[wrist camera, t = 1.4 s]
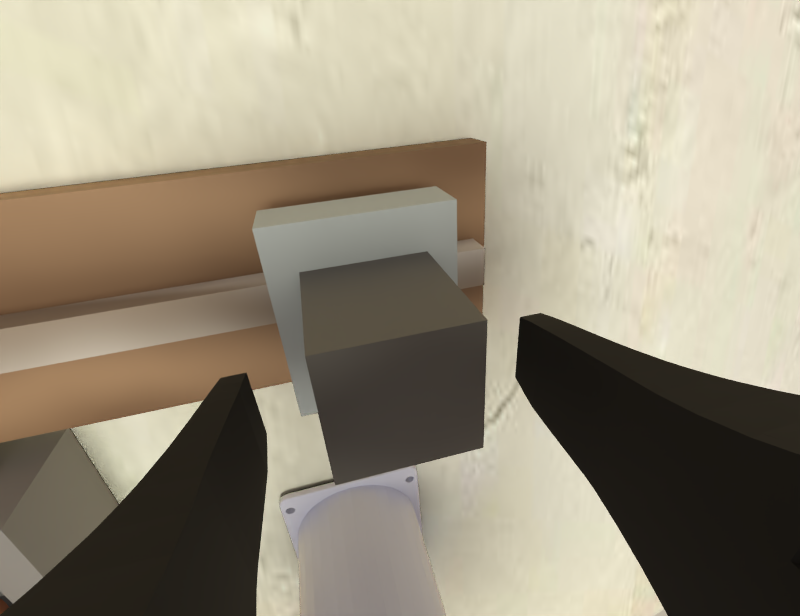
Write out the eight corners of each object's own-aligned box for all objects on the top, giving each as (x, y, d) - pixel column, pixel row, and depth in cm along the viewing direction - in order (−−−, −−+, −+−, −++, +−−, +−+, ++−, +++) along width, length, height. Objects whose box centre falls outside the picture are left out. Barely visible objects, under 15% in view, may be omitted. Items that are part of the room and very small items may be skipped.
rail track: (469, 326, 21) (492, 355, 19) (-107, 442, 17) (-170, 499, 14) (470, 138, 17) (500, 145, 14) (-309, 229, 12) (-448, 262, 10)
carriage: (441, 352, 17) (514, 475, 12) (299, 382, 16) (306, 532, 11) (436, 186, 14) (533, 249, 8) (256, 210, 13) (233, 300, 7)
